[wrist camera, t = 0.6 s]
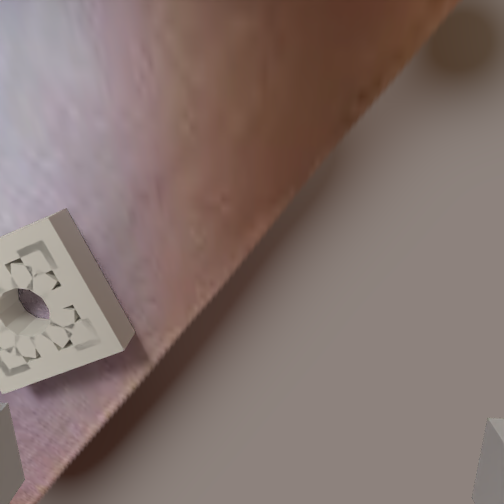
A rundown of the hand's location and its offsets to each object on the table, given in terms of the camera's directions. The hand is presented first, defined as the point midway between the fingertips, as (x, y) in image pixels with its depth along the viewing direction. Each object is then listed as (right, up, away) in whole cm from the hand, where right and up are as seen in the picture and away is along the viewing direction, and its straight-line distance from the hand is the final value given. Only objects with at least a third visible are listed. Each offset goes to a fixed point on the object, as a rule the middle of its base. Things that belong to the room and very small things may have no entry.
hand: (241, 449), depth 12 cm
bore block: (-18, +2, +26) cm, 32 cm away
